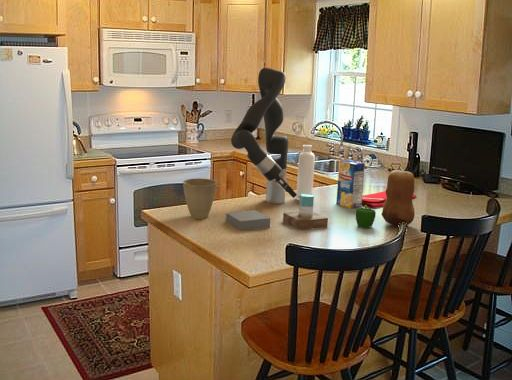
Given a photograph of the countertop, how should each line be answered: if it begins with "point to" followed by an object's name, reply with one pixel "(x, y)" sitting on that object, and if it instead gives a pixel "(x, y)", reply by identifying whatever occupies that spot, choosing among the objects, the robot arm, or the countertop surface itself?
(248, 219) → the grey stand
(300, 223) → the walnut stand
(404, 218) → the butternut squash
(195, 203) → the plant pot
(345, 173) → the beverage box
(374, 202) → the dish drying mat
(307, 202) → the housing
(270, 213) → the countertop surface
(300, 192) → the bottle
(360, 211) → the bell pepper
